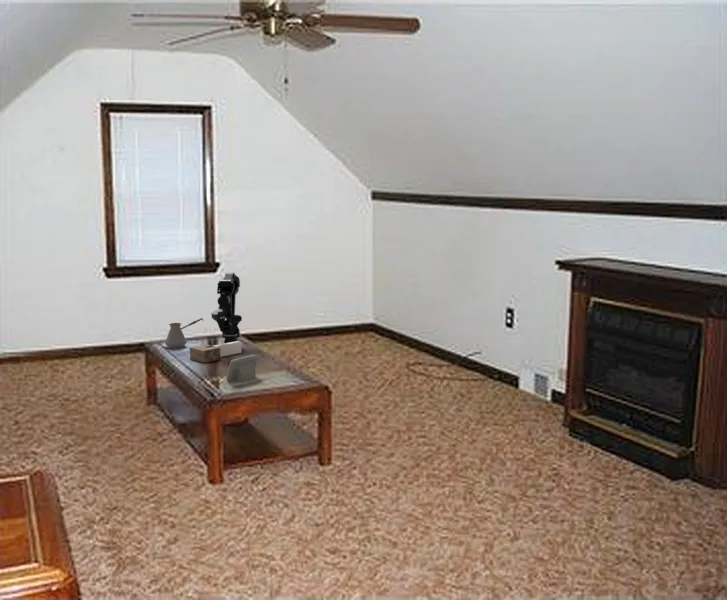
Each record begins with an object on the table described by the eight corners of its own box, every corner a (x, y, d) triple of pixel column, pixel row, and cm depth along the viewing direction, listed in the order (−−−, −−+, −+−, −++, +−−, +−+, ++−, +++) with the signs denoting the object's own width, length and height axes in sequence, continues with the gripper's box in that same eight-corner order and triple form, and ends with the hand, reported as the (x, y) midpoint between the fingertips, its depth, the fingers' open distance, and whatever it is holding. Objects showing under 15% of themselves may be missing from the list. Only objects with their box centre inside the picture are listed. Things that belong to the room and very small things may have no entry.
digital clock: (252, 374, 374) (252, 352, 372) (263, 378, 367) (262, 355, 365) (222, 380, 364) (221, 357, 362) (232, 384, 357) (232, 361, 355)
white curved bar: (238, 351, 423) (237, 340, 422) (241, 352, 421) (241, 341, 420) (207, 358, 409) (207, 346, 408) (211, 358, 407) (210, 347, 406)
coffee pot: (167, 349, 427) (166, 322, 425) (163, 345, 438) (162, 319, 435) (206, 346, 436) (205, 319, 433) (202, 342, 446) (201, 316, 444)
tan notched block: (206, 355, 413) (206, 344, 412) (220, 359, 405) (219, 347, 404) (190, 358, 406) (189, 347, 405) (204, 362, 398) (203, 350, 397)
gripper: (202, 303, 413) (203, 332, 416) (224, 307, 401) (225, 337, 403) (220, 300, 421) (221, 329, 424) (242, 304, 409) (242, 334, 411)
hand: (227, 332), depth 415 cm, fingers open, 9 cm apart
